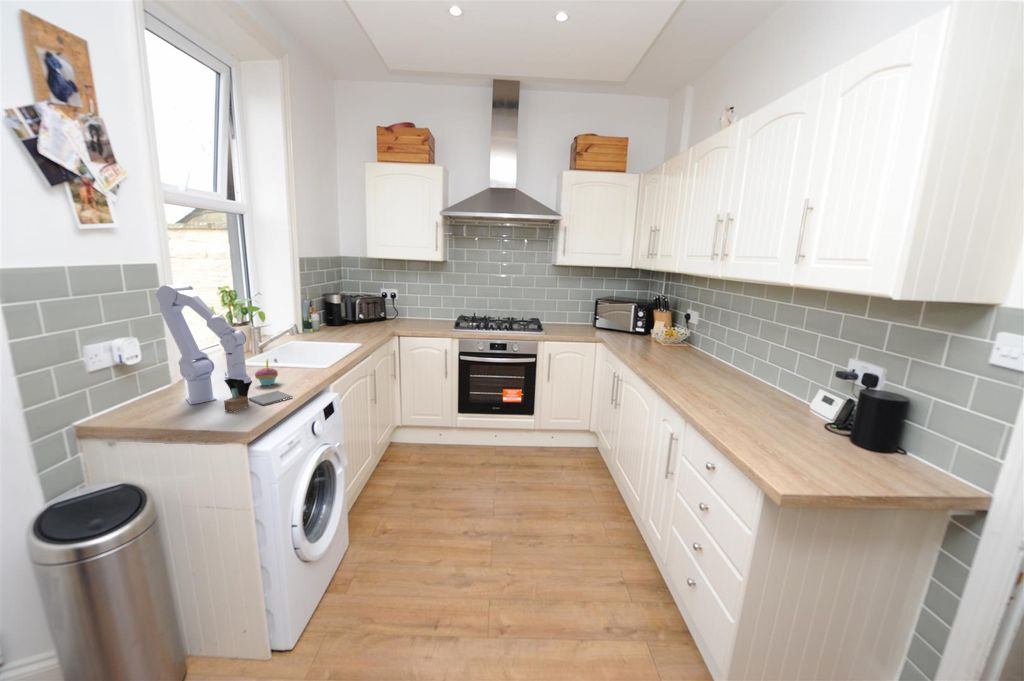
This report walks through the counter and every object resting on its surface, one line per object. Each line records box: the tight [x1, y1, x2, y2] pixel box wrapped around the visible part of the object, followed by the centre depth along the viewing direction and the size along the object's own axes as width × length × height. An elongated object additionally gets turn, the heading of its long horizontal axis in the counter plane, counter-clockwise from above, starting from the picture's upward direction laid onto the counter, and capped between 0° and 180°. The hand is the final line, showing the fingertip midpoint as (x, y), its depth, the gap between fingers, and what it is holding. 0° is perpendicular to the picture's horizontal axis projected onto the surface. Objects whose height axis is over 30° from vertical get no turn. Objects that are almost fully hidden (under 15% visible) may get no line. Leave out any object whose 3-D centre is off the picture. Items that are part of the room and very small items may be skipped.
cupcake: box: [254, 358, 279, 386], centre depth 174 cm, size 9×8×12 cm
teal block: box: [231, 388, 249, 398], centre depth 154 cm, size 4×4×5 cm
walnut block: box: [223, 395, 250, 413], centre depth 147 cm, size 4×6×4 cm, turn 162°
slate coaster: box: [248, 390, 293, 406], centre depth 158 cm, size 11×11×1 cm
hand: (240, 397), depth 154 cm, fingers closed on teal block, 5 cm apart
